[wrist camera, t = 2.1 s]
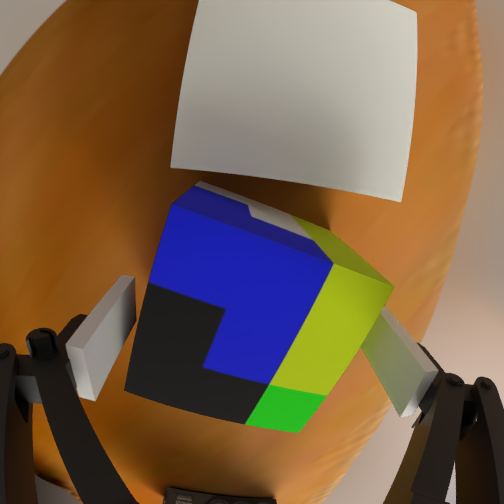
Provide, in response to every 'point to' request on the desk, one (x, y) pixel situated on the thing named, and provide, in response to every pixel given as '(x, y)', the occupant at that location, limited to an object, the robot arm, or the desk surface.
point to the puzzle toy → (250, 312)
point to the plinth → (300, 93)
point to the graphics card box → (207, 498)
